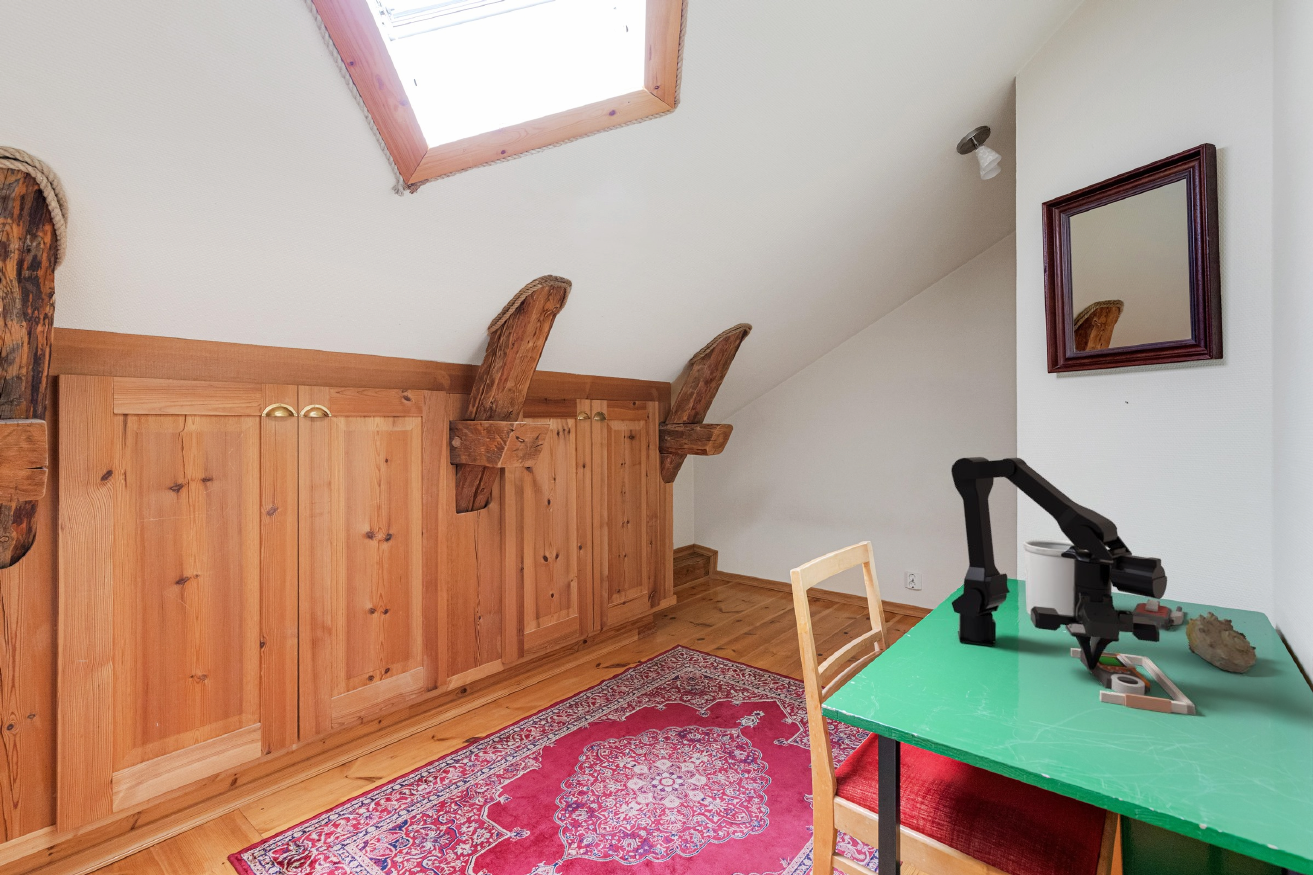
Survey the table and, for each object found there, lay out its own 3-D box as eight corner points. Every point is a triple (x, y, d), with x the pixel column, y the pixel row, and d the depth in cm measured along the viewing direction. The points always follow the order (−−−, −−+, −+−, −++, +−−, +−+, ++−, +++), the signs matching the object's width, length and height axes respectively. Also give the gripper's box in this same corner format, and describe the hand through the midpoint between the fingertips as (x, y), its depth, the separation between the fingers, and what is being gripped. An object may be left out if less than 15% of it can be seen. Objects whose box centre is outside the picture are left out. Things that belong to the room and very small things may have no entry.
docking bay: (1102, 702, 102) (1102, 691, 102) (1070, 654, 123) (1070, 645, 123) (1196, 716, 97) (1196, 704, 97) (1147, 664, 118) (1147, 654, 118)
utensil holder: (1010, 612, 150) (1011, 542, 149) (1042, 603, 158) (1043, 536, 157) (1076, 630, 137) (1077, 553, 137) (1107, 618, 145) (1109, 546, 144)
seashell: (1187, 674, 116) (1190, 624, 115) (1178, 643, 128) (1181, 598, 127) (1267, 690, 110) (1272, 637, 109) (1250, 656, 122) (1254, 608, 121)
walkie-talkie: (1180, 635, 135) (1185, 614, 149) (1180, 615, 134) (1185, 596, 149) (1130, 626, 141) (1139, 606, 155) (1130, 607, 140) (1140, 589, 155)
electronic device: (1112, 682, 105) (1079, 647, 120) (1111, 698, 105) (1079, 661, 120) (1159, 687, 103) (1120, 650, 118) (1158, 704, 103) (1119, 665, 118)
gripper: (1041, 591, 108) (1040, 677, 109) (1172, 603, 101) (1170, 695, 101) (1030, 576, 118) (1029, 655, 119) (1149, 586, 111) (1147, 670, 111)
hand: (1090, 668), depth 112 cm, fingers closed
